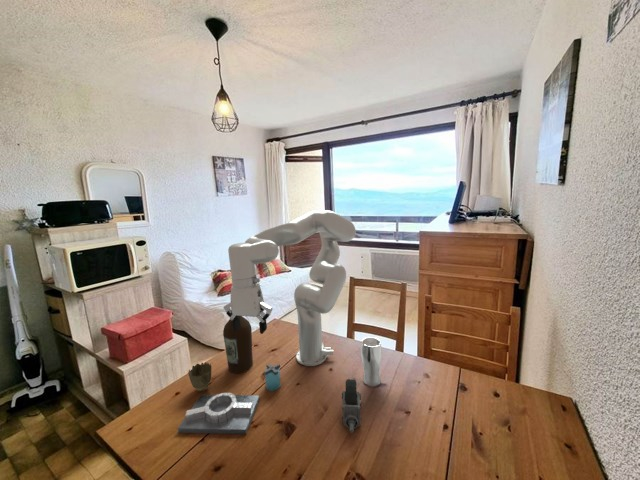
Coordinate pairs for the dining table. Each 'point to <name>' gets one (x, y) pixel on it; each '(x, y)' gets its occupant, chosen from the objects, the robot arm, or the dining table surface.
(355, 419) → the caster wheel
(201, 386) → the cup
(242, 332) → the olive oil
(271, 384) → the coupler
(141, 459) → the dining table surface
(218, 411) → the coupling base
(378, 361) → the beer glass
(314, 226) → the robot arm
